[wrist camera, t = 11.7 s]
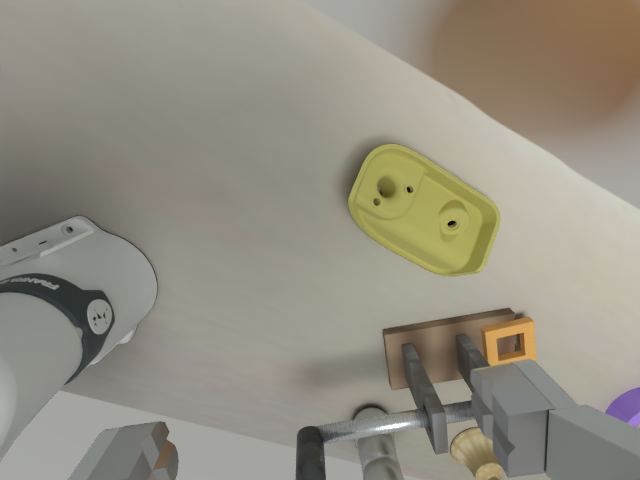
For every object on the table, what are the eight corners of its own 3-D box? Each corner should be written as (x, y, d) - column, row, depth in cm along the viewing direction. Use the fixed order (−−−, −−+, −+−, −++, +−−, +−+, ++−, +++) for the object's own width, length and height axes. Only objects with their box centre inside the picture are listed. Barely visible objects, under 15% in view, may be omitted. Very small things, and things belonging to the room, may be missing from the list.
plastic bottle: (390, 400, 56) (433, 542, 37) (388, 433, 58) (428, 583, 39) (350, 402, 55) (373, 545, 36) (350, 434, 57) (371, 586, 38)
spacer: (489, 371, 51) (536, 361, 51) (485, 332, 49) (533, 321, 49) (485, 366, 52) (531, 356, 52) (480, 327, 50) (528, 316, 50)
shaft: (299, 441, 43) (298, 518, 35) (294, 421, 42) (291, 496, 34) (478, 411, 43) (521, 482, 34) (477, 391, 42) (522, 459, 33)
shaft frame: (389, 383, 54) (417, 470, 41) (382, 329, 51) (410, 403, 38) (509, 363, 54) (578, 444, 40) (509, 308, 51) (584, 374, 37)
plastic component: (505, 209, 44) (479, 281, 42) (464, 216, 51) (441, 277, 49) (379, 127, 39) (344, 205, 37) (352, 147, 46) (322, 213, 44)
